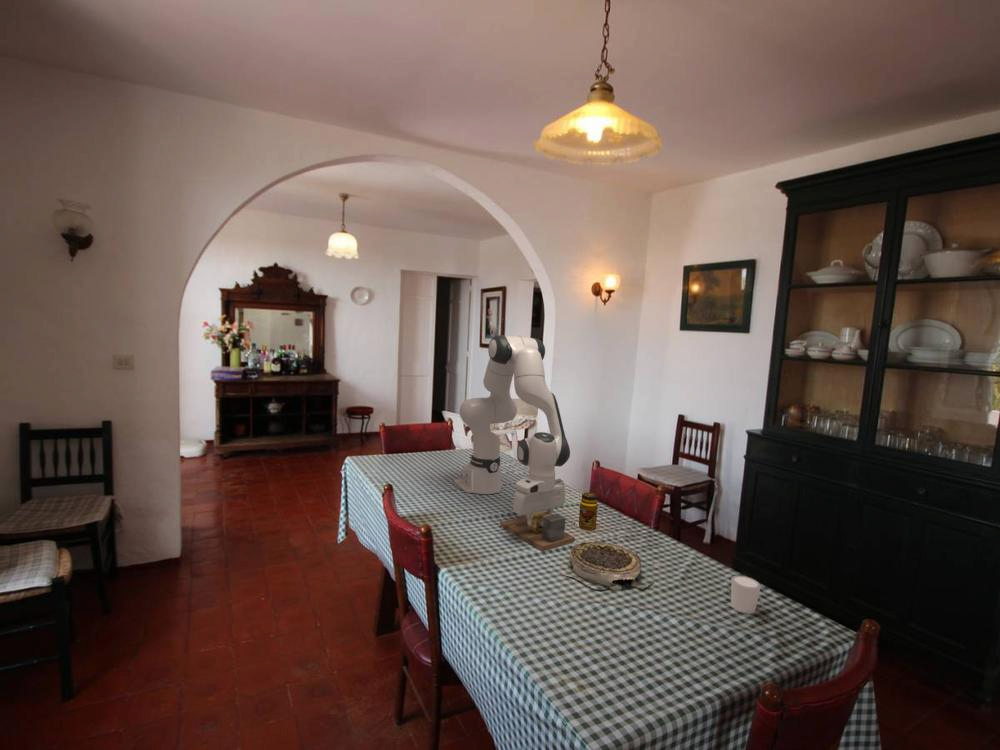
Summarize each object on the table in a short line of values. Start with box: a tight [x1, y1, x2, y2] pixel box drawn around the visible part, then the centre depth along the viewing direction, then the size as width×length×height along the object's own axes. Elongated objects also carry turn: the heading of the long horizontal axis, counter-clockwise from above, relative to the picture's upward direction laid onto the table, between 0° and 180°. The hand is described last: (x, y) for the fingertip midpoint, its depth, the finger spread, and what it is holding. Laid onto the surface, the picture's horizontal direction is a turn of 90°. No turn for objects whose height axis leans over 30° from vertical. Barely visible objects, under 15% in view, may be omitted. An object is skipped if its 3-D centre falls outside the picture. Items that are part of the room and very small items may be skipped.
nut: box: [528, 510, 550, 533], centre depth 168 cm, size 4×6×6 cm
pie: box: [558, 541, 654, 591], centre depth 147 cm, size 28×27×5 cm
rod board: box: [499, 513, 576, 552], centre depth 169 cm, size 22×14×8 cm, turn 37°
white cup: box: [730, 575, 762, 615], centre depth 130 cm, size 7×7×7 cm
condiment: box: [572, 492, 601, 533], centre depth 177 cm, size 7×8×12 cm
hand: (538, 522), depth 168 cm, fingers closed on nut, 6 cm apart
